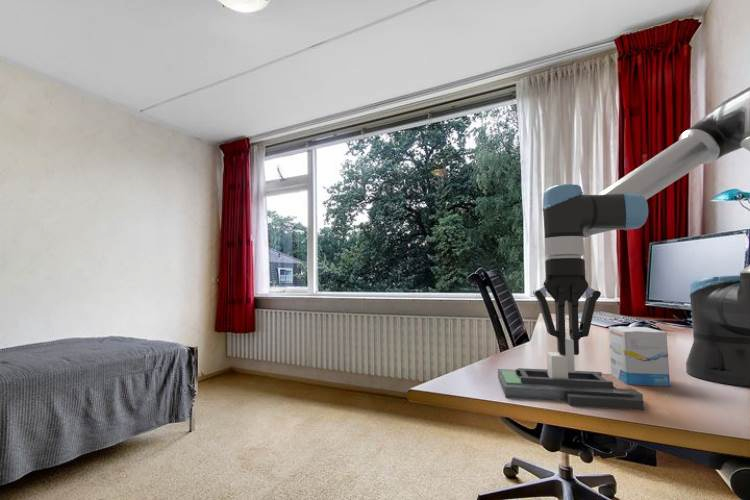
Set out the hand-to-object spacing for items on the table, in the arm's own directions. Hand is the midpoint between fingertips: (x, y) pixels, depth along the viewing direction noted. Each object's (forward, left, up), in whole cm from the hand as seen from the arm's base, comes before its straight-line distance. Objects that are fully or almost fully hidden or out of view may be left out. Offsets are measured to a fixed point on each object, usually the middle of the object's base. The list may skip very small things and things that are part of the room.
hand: (568, 370), depth 76 cm
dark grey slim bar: (0, -10, -4) cm, 10 cm away
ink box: (-17, -11, -4) cm, 21 cm away
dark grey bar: (-3, +9, -4) cm, 10 cm away
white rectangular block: (+2, 0, -2) cm, 3 cm away
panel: (+2, 0, -4) cm, 4 cm away
